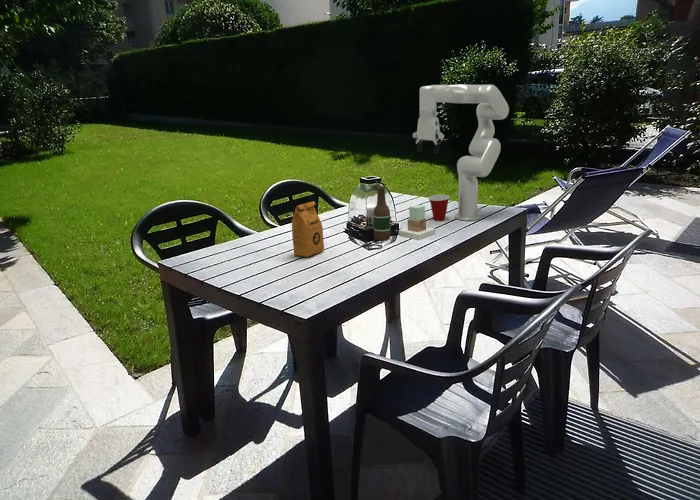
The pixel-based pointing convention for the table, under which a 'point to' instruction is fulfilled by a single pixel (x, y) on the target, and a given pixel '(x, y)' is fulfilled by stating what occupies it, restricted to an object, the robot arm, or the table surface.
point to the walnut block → (416, 225)
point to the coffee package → (307, 231)
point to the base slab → (417, 233)
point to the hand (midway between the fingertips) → (427, 152)
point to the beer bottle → (381, 217)
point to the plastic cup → (439, 206)
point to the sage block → (417, 212)
